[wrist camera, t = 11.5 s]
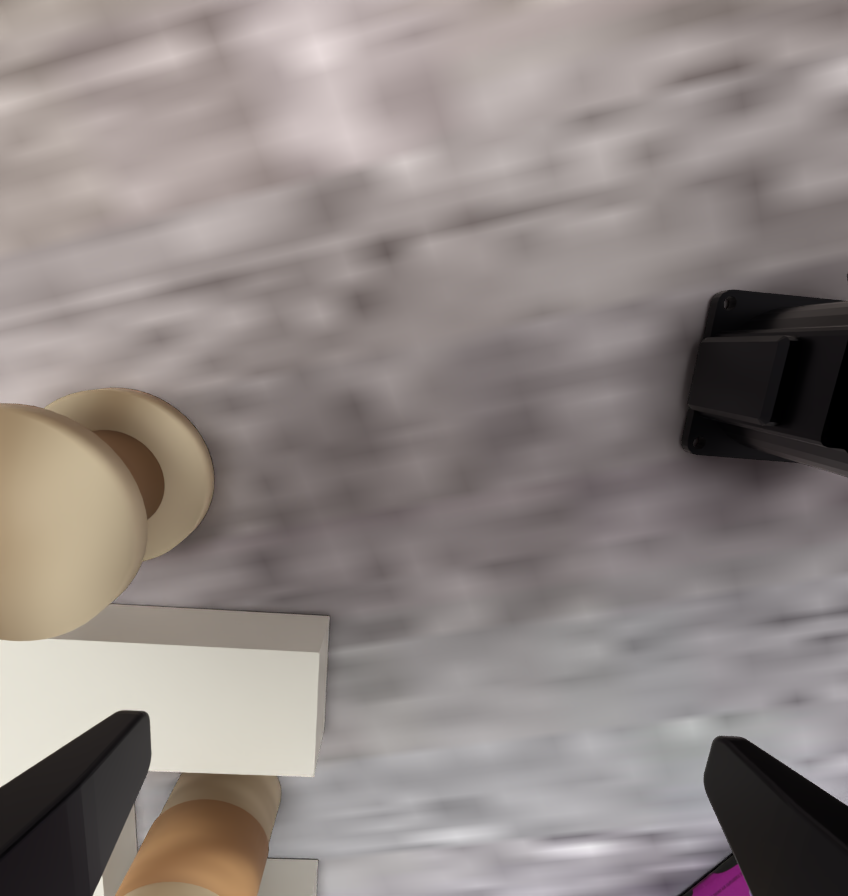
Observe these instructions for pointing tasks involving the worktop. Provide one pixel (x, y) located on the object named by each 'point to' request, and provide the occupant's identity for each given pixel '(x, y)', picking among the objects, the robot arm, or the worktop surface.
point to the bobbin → (91, 502)
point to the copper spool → (207, 838)
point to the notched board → (177, 702)
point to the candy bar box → (722, 882)
